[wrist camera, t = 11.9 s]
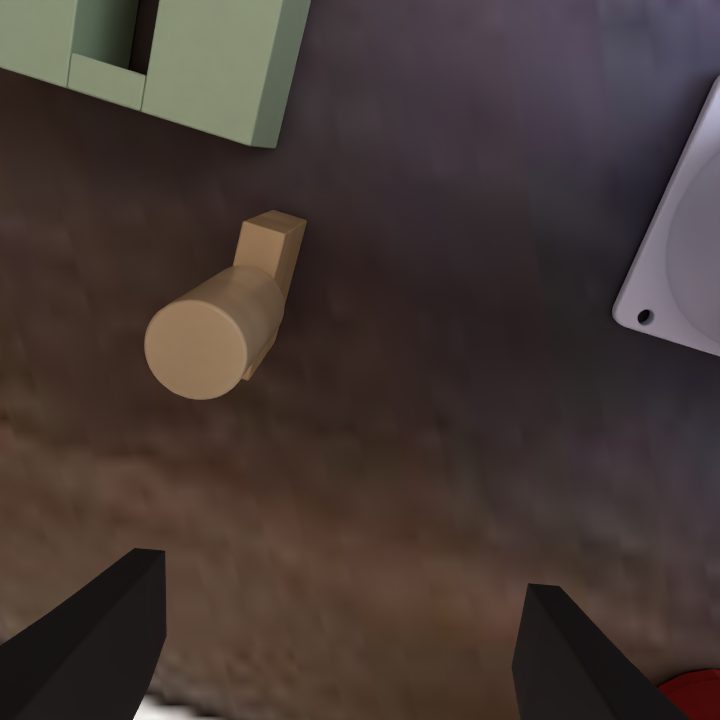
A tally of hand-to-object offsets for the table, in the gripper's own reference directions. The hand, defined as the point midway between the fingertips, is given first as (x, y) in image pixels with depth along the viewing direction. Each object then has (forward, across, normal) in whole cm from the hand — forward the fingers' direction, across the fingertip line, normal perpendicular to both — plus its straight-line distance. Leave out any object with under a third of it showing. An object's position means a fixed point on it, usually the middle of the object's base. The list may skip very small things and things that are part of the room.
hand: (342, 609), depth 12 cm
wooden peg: (+10, +3, -4) cm, 12 cm away
